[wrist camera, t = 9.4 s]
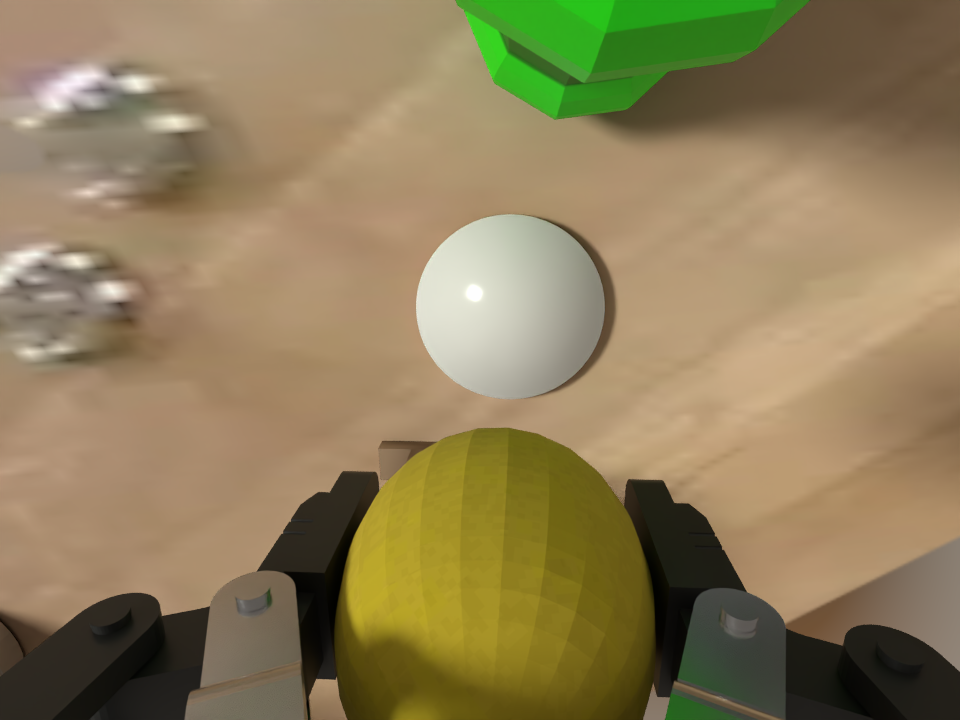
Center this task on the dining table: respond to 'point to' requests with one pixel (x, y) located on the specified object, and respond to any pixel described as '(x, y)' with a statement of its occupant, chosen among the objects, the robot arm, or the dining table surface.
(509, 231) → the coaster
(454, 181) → the dining table surface
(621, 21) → the plastic bottle
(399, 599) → the lemon
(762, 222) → the dining table surface
